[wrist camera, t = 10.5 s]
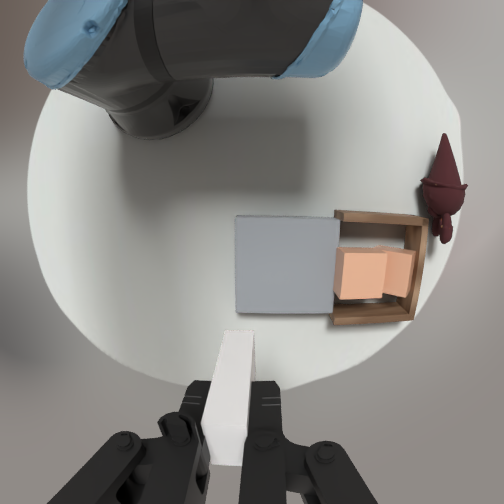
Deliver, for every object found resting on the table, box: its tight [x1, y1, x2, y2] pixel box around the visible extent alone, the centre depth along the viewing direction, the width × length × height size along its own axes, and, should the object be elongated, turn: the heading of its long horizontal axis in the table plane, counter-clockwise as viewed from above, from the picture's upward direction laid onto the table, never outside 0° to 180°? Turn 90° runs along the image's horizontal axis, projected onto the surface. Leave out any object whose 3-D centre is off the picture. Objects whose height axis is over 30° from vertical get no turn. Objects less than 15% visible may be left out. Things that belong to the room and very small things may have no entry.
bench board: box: [235, 215, 340, 313], centre depth 35 cm, size 12×12×3 cm
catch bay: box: [328, 210, 429, 325], centre depth 34 cm, size 14×12×4 cm
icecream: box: [420, 133, 468, 244], centre depth 30 cm, size 7×7×15 cm
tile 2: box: [374, 245, 416, 298], centre depth 33 cm, size 6×6×3 cm
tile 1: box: [333, 247, 388, 299], centre depth 32 cm, size 6×6×3 cm
